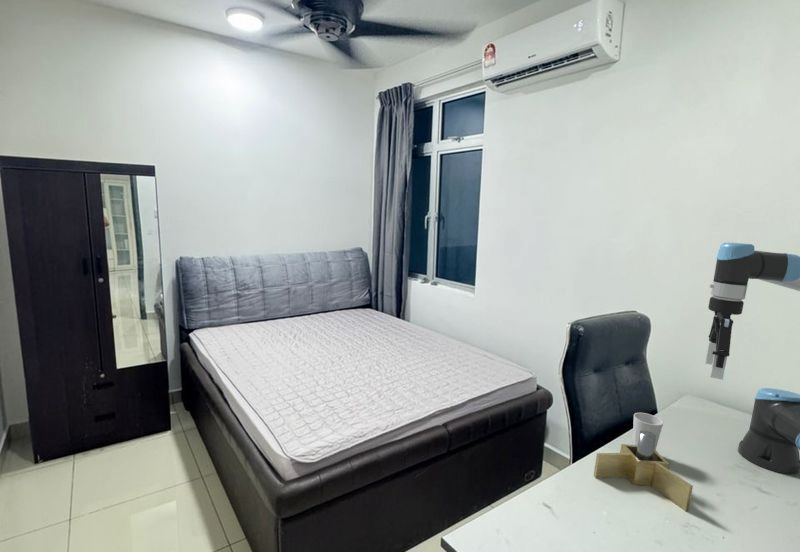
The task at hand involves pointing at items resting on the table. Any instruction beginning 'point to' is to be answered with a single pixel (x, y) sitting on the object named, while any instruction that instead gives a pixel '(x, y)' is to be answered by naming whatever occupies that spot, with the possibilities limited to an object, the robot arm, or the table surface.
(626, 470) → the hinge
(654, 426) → the cup
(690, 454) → the table surface
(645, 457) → the pin
